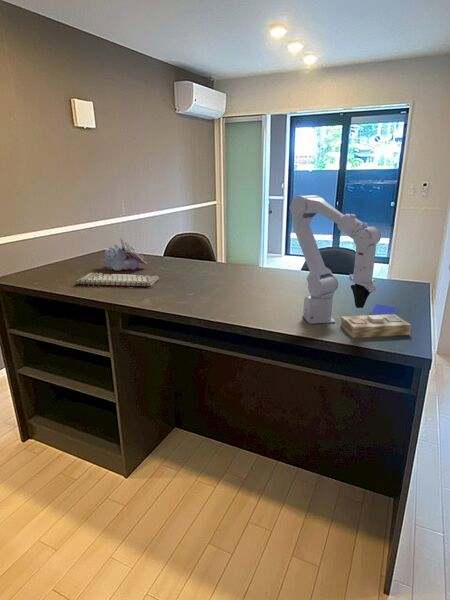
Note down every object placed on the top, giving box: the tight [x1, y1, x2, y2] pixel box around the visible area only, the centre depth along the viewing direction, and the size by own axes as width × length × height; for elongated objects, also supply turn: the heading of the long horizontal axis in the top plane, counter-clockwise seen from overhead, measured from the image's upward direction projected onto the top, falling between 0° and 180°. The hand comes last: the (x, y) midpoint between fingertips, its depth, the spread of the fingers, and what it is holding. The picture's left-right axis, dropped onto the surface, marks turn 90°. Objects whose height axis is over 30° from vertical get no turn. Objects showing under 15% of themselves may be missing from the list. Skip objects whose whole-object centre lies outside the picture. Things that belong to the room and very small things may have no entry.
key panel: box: [340, 314, 412, 339], centre depth 127 cm, size 19×10×4 cm, turn 97°
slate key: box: [384, 317, 401, 322], centre depth 128 cm, size 4×4×2 cm
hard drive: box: [368, 304, 399, 315], centre depth 144 cm, size 2×8×12 cm
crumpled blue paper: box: [104, 237, 148, 272], centre depth 211 cm, size 20×22×18 cm
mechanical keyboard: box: [74, 272, 160, 289], centre depth 185 cm, size 38×19×3 cm, turn 85°
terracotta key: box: [350, 319, 366, 324], centre depth 126 cm, size 4×4×2 cm
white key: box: [367, 314, 384, 323], centre depth 127 cm, size 4×4×2 cm
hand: (359, 307), depth 124 cm, fingers closed
